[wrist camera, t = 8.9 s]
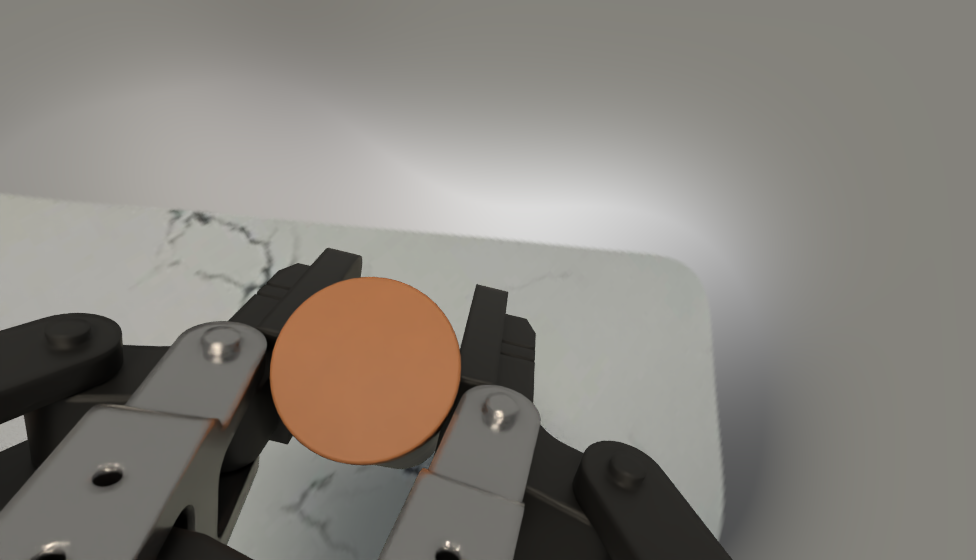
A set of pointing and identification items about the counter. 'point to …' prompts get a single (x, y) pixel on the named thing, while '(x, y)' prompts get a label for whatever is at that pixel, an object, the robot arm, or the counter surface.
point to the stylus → (366, 373)
